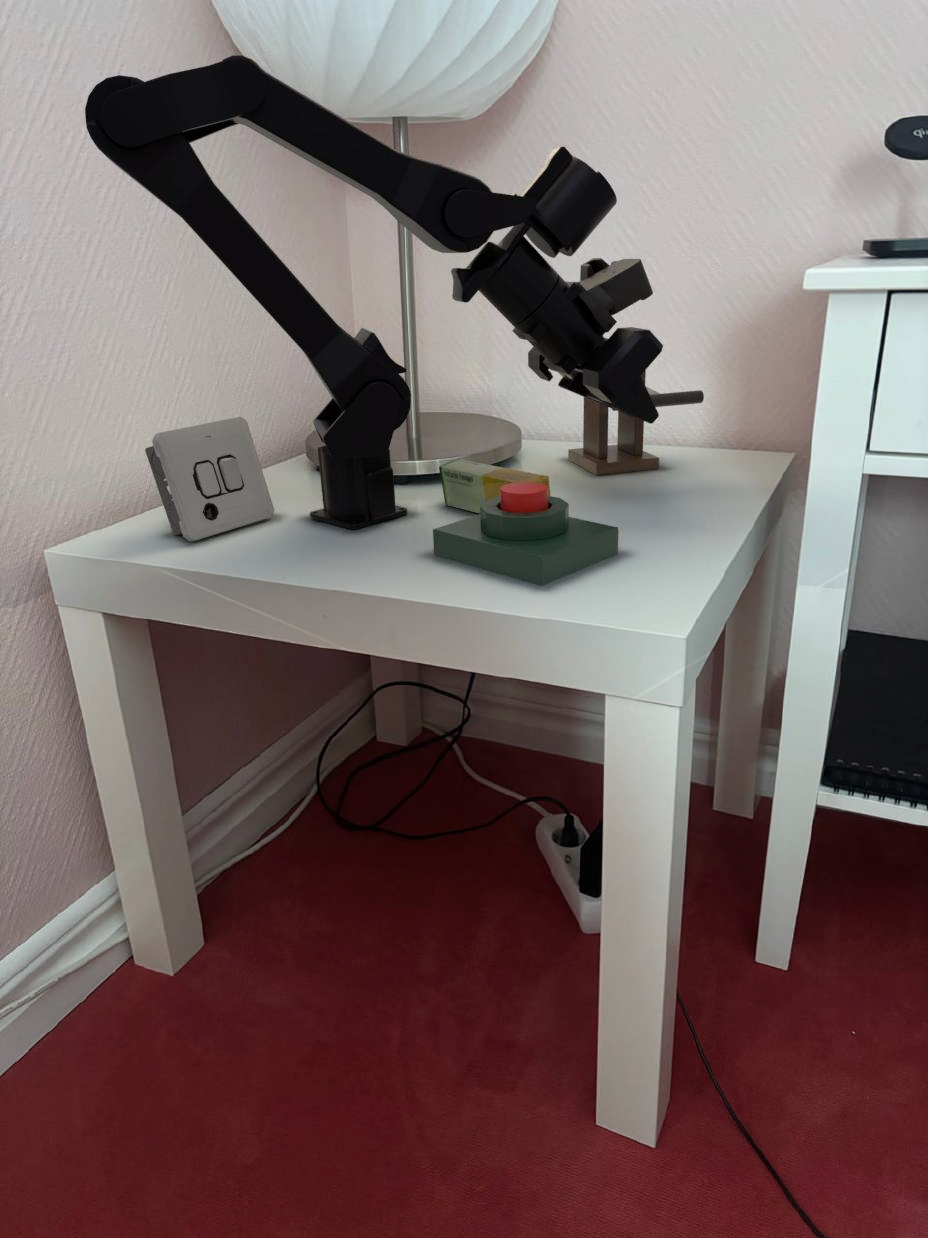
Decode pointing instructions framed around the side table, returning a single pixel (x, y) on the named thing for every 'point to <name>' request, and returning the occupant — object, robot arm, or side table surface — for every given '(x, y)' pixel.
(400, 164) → the robot arm
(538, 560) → the button box
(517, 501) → the button
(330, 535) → the side table surface
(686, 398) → the lever
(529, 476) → the medication box
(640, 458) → the bracket
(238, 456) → the electrical switch
